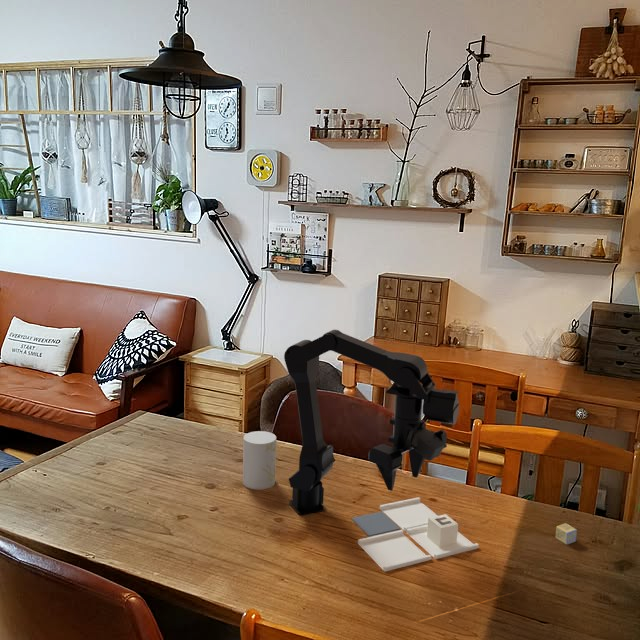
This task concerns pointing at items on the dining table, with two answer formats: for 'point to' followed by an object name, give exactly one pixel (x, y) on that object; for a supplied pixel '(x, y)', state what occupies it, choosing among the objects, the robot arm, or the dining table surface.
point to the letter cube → (442, 530)
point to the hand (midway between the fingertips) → (402, 483)
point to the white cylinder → (259, 460)
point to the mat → (375, 523)
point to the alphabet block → (566, 533)
